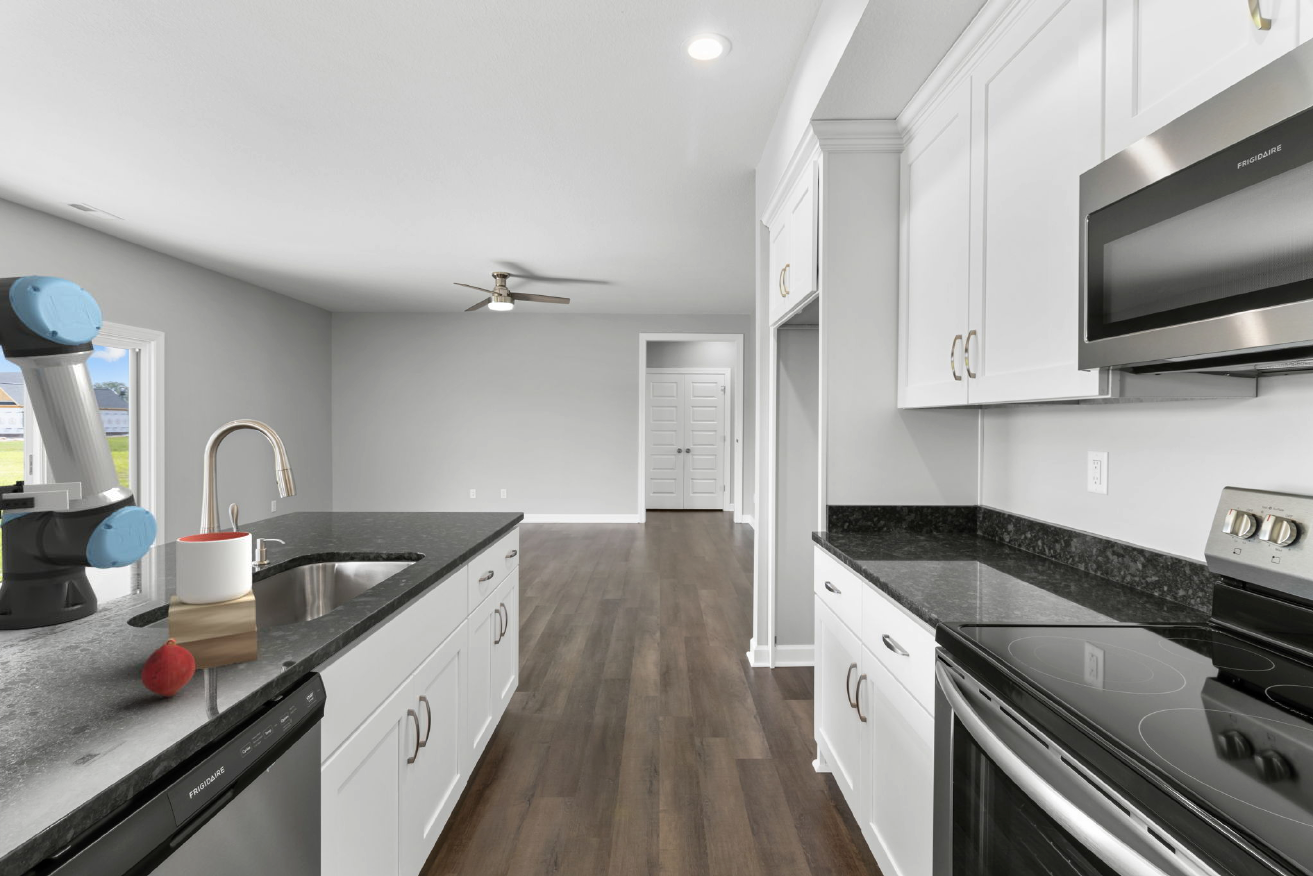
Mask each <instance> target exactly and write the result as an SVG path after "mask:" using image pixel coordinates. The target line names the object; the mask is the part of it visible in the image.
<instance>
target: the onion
mask: <svg viewBox="0 0 1313 876" xmlns="http://www.w3.org/2000/svg"><path fill="white" fill-rule="evenodd" d="M175 642H176V640H175V639H174V638H173V639H169V638H168V639H167V640H166V641H165V642H164V643H163V644H162V645H161V646H160V647H159V648H157V649H156V650H154V651H153V652H152V654H150V655H149V657H148V658H147V659H146V661H145V662H144V665H143V668H142V671H141V676H140V677H141V682H142V685H143V686H144V688H146V689H147V690H149V692H150V691H151V692H152V693H154V694H157V695H160V696H163V697H165V698H170V697H173V696H175V695H176V694H177V693H178V692H179V691H181V689H182V688H183V687H185V686H186V685H187V684H188V683H189V681H190V680H192V678H193V676H194V674H195V672H196V671H195V661H194V658H193V656H192V654H191V653H190V652H189V651H188V650H186V649H185V648H183V647H180V646H178V645H176V643H175Z"/></svg>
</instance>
